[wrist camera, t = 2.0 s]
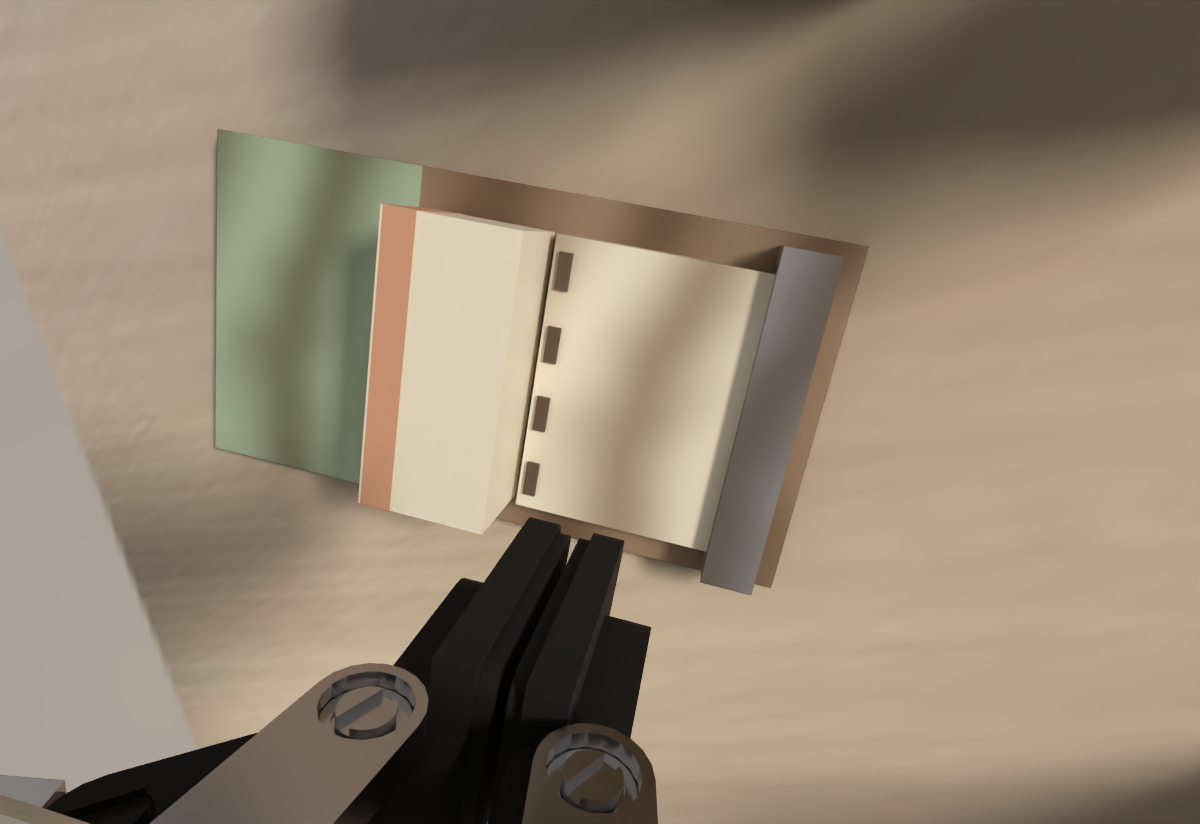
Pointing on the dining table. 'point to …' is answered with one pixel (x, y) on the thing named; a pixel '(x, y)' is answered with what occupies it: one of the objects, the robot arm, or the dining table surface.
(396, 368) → the stub
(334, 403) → the board
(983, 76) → the dining table surface
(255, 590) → the dining table surface
